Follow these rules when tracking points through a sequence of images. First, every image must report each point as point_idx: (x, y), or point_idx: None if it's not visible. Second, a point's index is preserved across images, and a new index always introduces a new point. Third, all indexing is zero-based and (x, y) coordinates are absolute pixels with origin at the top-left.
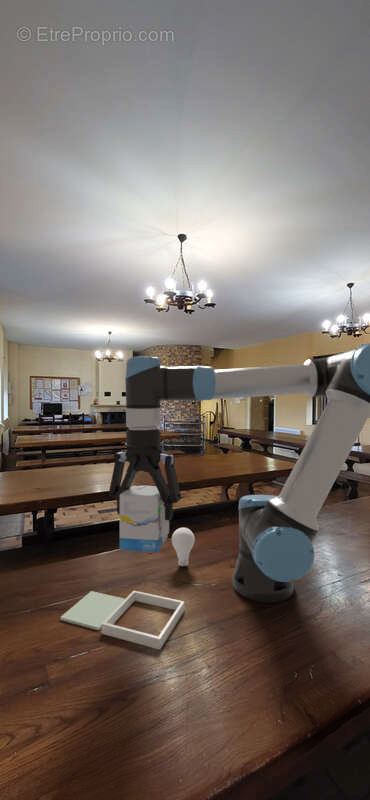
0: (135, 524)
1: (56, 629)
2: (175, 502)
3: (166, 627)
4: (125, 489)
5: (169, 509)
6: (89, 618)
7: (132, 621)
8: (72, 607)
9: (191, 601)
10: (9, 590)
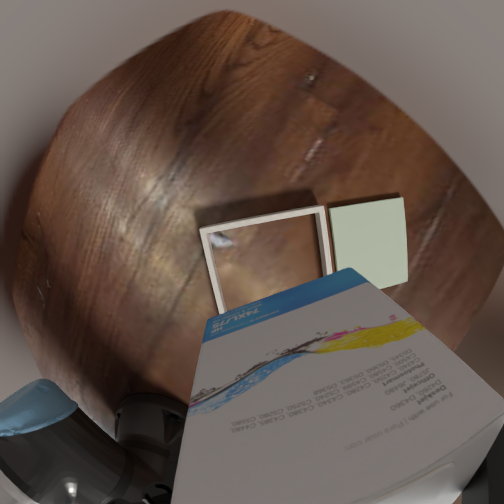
0: (314, 344)
1: (388, 176)
2: (113, 500)
3: (208, 261)
4: (481, 470)
5: (168, 477)
6: (361, 219)
7: (292, 259)
8: (404, 227)
9: None
10: (492, 216)
